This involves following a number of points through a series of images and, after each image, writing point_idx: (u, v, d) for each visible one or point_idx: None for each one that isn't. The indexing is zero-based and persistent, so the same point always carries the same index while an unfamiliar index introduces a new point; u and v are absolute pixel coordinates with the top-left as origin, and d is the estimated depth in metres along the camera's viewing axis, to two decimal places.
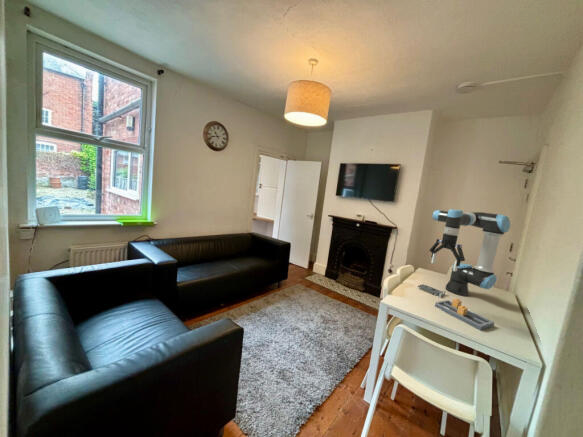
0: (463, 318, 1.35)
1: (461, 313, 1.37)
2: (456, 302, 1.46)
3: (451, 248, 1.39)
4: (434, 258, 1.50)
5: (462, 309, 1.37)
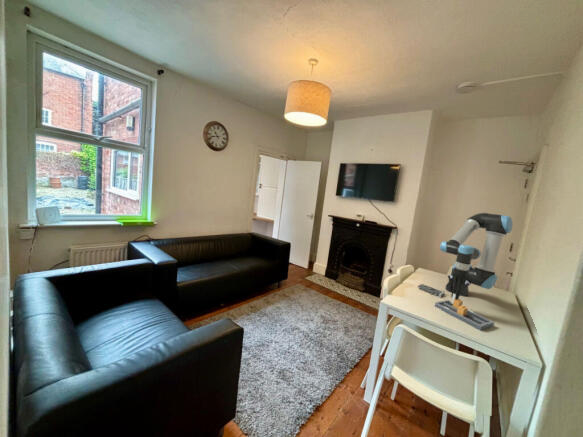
0: (463, 318, 1.35)
1: (461, 313, 1.37)
2: (457, 302, 1.46)
3: (459, 283, 1.46)
4: None
5: (462, 309, 1.37)
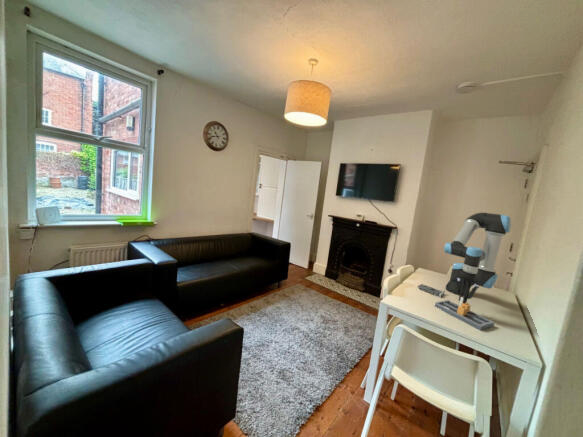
0: (463, 318, 1.35)
1: (461, 313, 1.37)
2: (465, 306, 1.42)
3: (467, 286, 1.42)
4: None
5: (462, 309, 1.37)
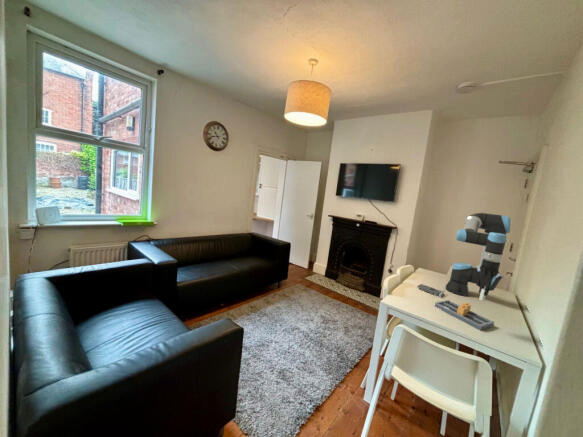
0: (463, 318, 1.35)
1: (461, 313, 1.37)
2: (465, 306, 1.42)
3: (489, 276, 1.26)
4: None
5: (462, 309, 1.37)
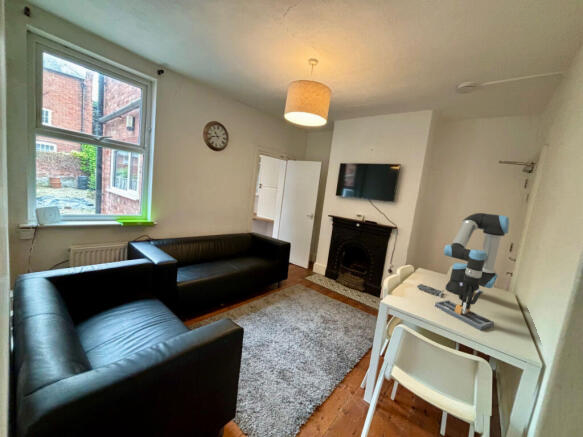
0: (463, 318, 1.35)
1: (459, 312, 1.38)
2: None
3: (470, 291, 1.34)
4: None
5: (460, 308, 1.38)
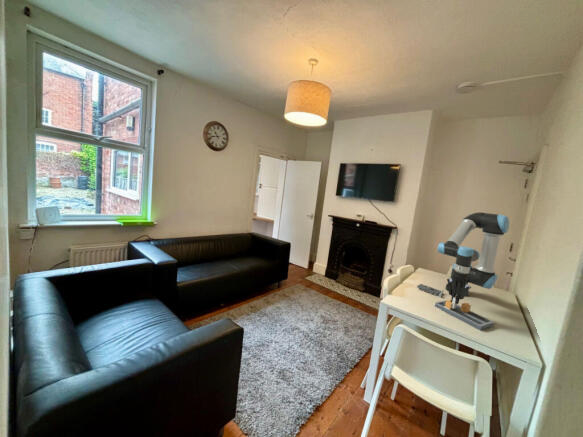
0: (463, 318, 1.35)
1: (448, 307, 1.44)
2: (465, 306, 1.42)
3: (459, 286, 1.39)
4: None
5: (449, 303, 1.43)
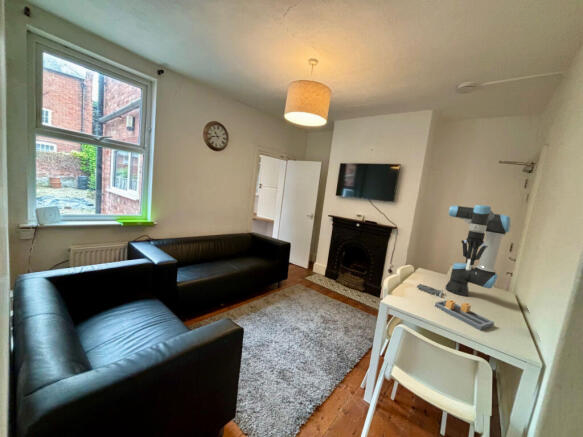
0: (463, 318, 1.35)
1: (449, 307, 1.44)
2: (465, 306, 1.42)
3: (474, 246, 1.33)
4: None
5: (450, 303, 1.43)
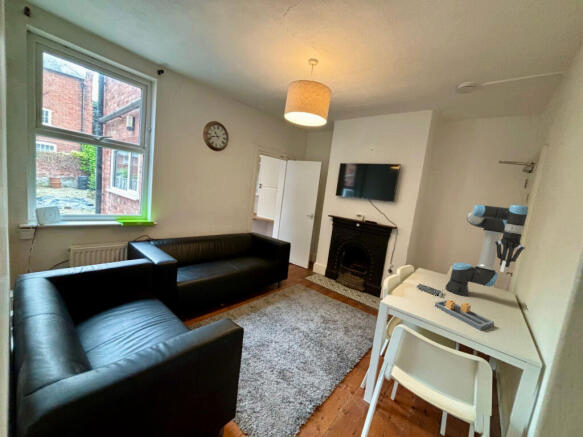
0: (463, 318, 1.35)
1: (449, 307, 1.44)
2: (465, 306, 1.42)
3: (510, 248, 1.29)
4: None
5: (450, 303, 1.43)
